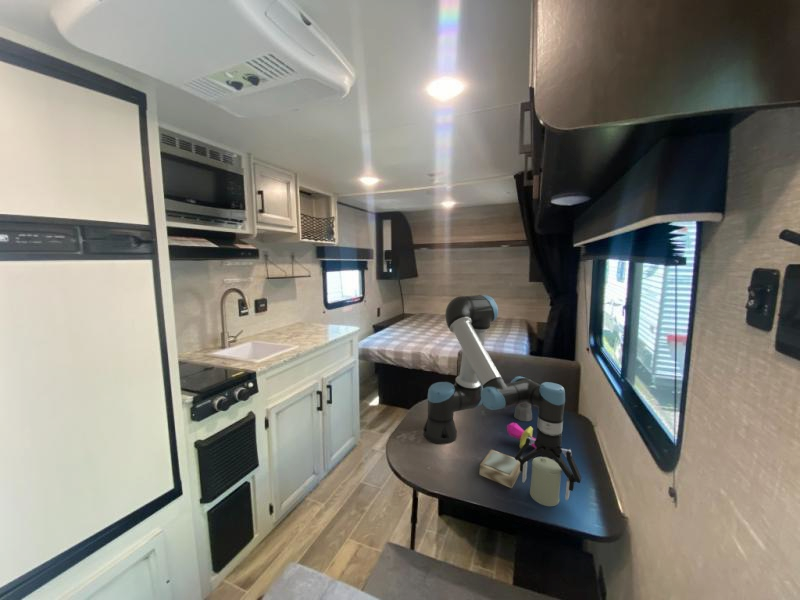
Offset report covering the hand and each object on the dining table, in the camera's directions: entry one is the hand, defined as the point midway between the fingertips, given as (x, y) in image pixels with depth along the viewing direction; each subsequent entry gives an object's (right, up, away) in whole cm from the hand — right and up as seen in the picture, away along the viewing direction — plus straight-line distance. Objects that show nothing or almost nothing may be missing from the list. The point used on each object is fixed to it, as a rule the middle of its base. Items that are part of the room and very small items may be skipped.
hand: (544, 488), depth 108 cm
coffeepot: (+13, +4, +55) cm, 57 cm away
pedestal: (-11, -1, +12) cm, 17 cm away
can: (0, -3, 0) cm, 3 cm away
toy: (+5, +1, +28) cm, 29 cm away
